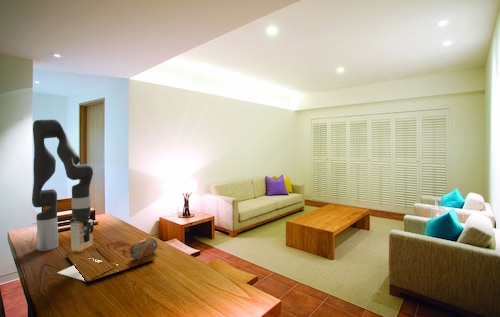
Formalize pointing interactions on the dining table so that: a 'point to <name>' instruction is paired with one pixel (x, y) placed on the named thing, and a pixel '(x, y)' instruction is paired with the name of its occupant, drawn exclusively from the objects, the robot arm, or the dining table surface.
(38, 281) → the dining table surface
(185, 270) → the dining table surface
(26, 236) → the dining table surface
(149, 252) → the tin
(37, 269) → the dining table surface
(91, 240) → the supplement box
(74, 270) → the felt mat
